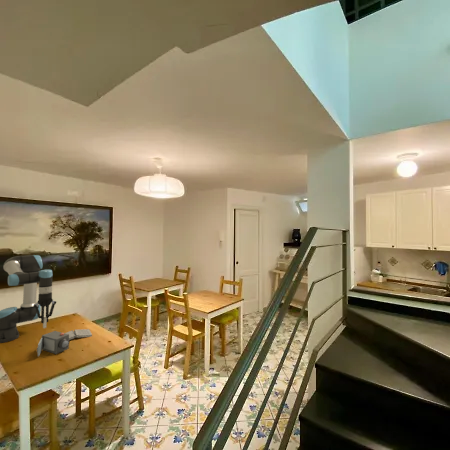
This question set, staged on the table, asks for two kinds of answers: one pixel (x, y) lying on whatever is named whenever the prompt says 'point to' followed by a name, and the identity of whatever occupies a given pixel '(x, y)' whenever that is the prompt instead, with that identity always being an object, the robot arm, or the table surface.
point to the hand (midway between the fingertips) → (44, 327)
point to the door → (40, 346)
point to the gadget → (79, 333)
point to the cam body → (55, 342)
